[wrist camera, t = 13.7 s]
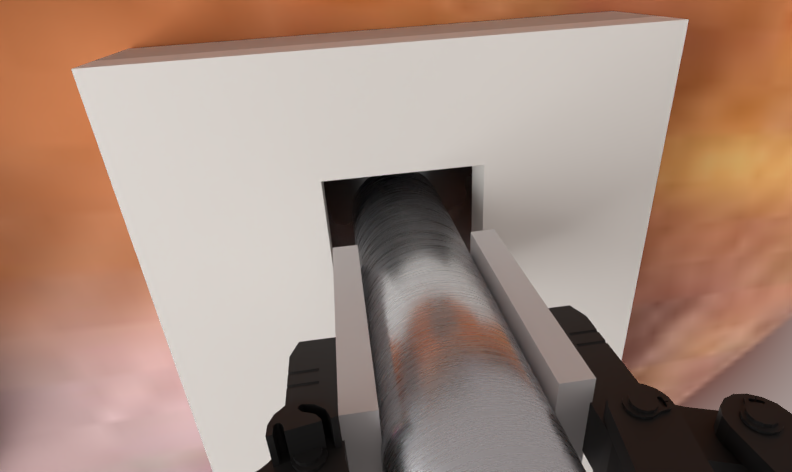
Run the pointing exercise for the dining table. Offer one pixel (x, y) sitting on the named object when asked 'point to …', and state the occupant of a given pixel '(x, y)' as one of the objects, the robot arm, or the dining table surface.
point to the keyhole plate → (372, 156)
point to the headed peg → (440, 333)
